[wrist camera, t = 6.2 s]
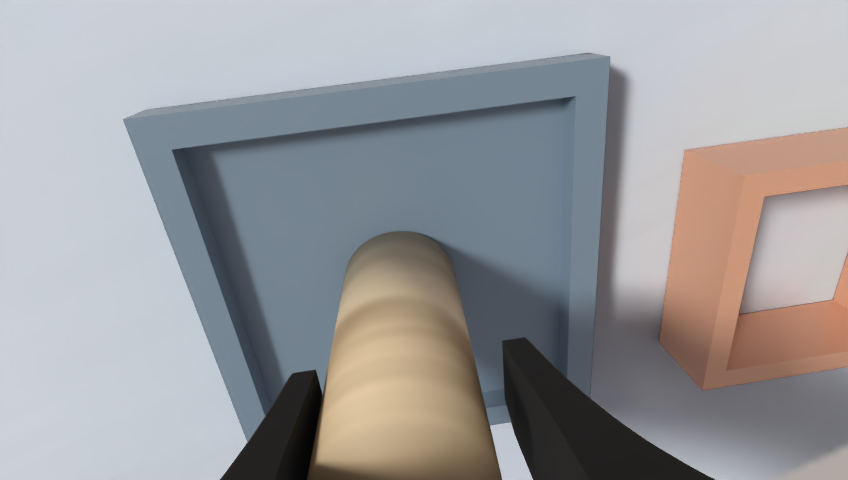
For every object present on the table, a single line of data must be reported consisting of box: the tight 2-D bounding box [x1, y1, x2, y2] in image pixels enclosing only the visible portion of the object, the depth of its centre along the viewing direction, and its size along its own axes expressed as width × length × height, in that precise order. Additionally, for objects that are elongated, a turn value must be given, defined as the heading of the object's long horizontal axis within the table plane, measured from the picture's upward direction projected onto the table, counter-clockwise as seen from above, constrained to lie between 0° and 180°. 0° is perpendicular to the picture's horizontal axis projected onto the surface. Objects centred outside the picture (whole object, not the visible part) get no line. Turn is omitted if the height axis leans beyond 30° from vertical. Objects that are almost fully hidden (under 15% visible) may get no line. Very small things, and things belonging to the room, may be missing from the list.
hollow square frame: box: [659, 127, 848, 391], centre depth 18 cm, size 9×9×3 cm
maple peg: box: [307, 231, 502, 480], centre depth 13 cm, size 4×4×8 cm
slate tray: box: [123, 53, 610, 442], centre depth 17 cm, size 14×14×2 cm
